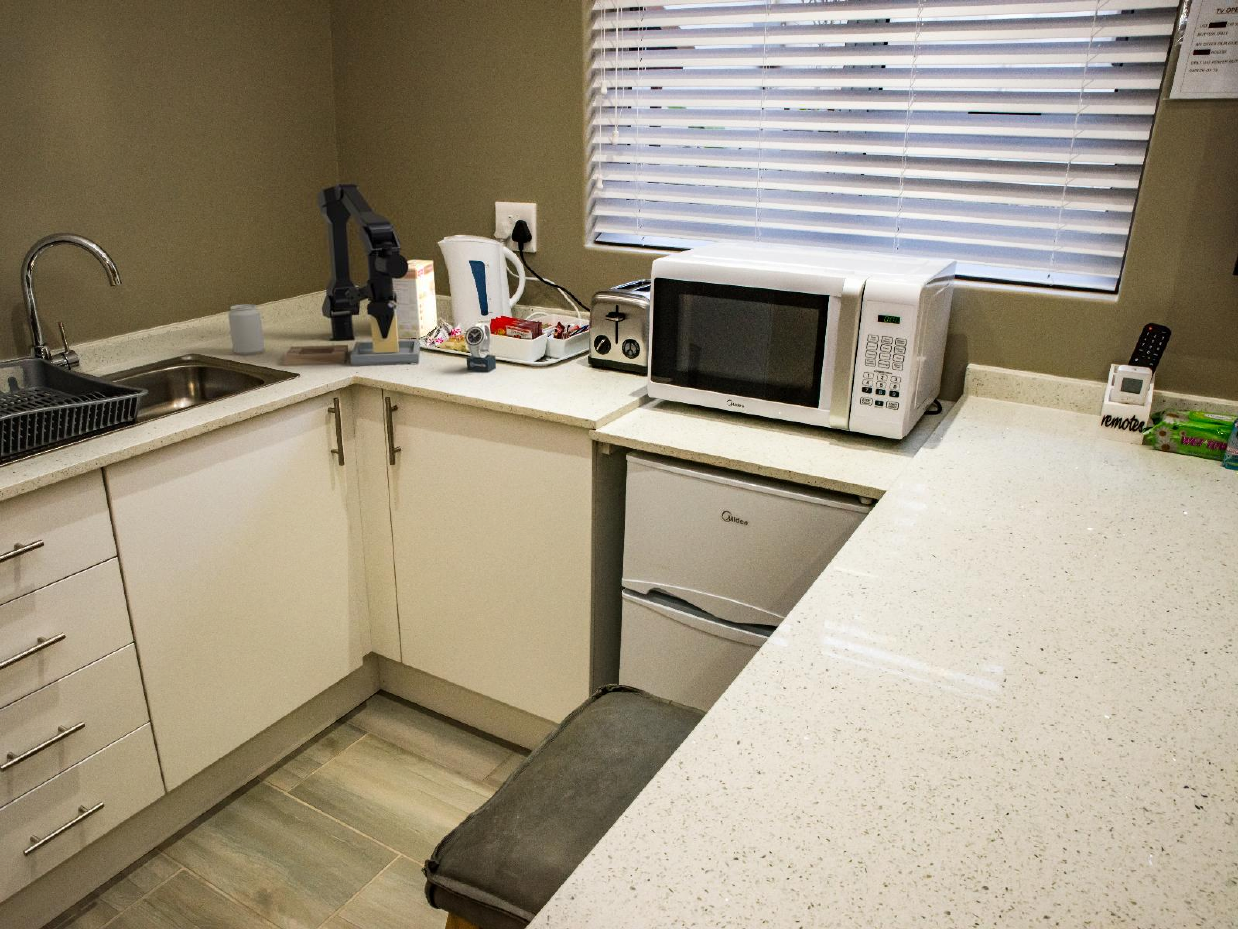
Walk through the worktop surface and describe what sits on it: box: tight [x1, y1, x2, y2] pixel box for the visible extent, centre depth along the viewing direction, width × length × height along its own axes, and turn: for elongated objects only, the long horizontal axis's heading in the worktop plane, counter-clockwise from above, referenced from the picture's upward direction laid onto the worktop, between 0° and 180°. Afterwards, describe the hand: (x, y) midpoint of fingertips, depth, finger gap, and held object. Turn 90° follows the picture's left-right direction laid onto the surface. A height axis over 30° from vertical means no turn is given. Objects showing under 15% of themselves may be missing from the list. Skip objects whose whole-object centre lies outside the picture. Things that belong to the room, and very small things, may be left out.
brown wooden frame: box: [283, 344, 350, 367], centre depth 231 cm, size 12×14×2 cm
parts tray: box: [350, 339, 421, 367], centre depth 233 cm, size 16×16×2 cm
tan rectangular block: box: [369, 309, 399, 353], centre depth 231 cm, size 4×6×10 cm, turn 100°
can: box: [228, 304, 265, 356], centre depth 236 cm, size 8×8×12 cm
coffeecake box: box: [393, 259, 438, 340], centre depth 257 cm, size 15×7×20 cm, turn 172°
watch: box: [464, 322, 497, 373], centre depth 221 cm, size 6×8×11 cm
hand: (385, 336), depth 232 cm, fingers closed on tan rectangular block, 4 cm apart
